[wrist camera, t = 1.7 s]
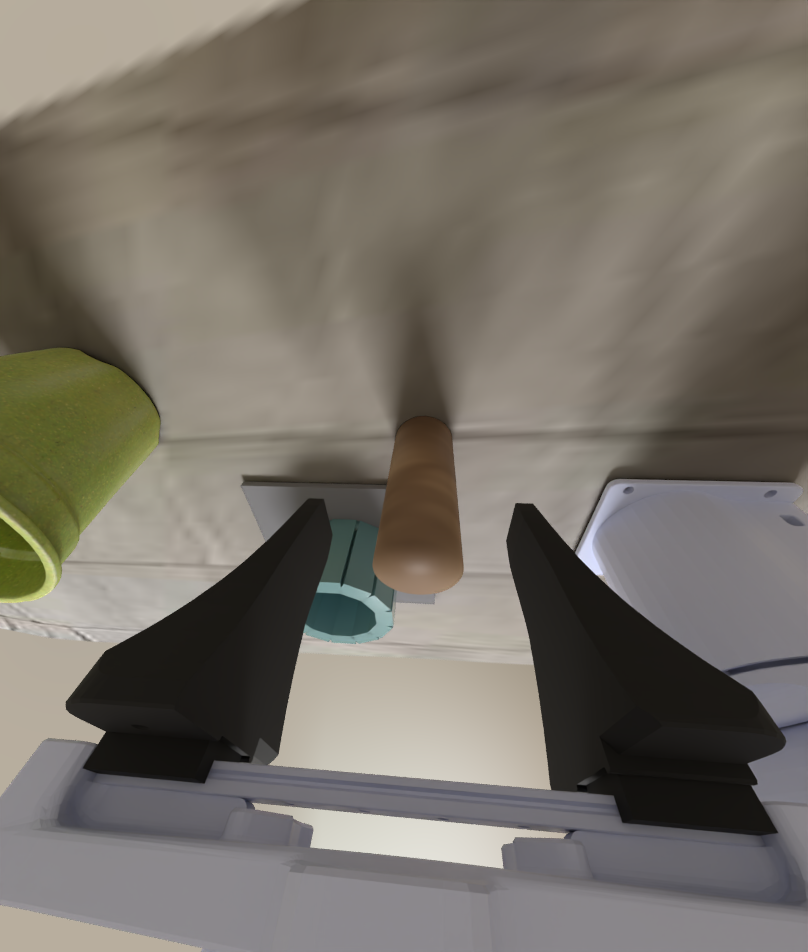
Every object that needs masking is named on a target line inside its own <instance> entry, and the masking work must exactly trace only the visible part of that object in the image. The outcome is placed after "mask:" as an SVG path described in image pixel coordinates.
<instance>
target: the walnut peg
mask: <svg viewBox="0 0 808 952" xmlns="http://www.w3.org/2000/svg"><path fill="white" fill-rule="evenodd" d="M372 564H373V571H374V573H375V575H376V576H377V578H378V579H379V580H380V581H381V582H383V583H384V584H385V585H387V586H388V587H390V588H392V589H395V590H397V591H400V592H404V593H408V594H416V595H426V594H434V593H439V592H442V591H445V590H447V589H449V588H451V587H452V586H454V585H455V584H456V583H457V582H458V581H459V580H460V579H461V577H462V575H463V569H464V567H463V556H462V544H461V533H460V522H459V511H458V499H457V488H456V477H455V466H454V454H453V443H452V435H451V432H450V430H449V429H448V427H447V426H446V425H445V424H444V423H443V422H441V421H440V420H438V419H436V418H433V417H428V416H419V417H414V418H412V419H409V420H408V421H406V422H405V423H403V424H402V425H401V426H400V428H399V429H398V431H397V434H396V438H395V444H394V449H393V454H392V460H391V465H390V471H389V476H388V482H387V487H386V492H385V498H384V503H383V509H382V514H381V520H380V525H379V530H378V536H377V541H376V547H375V552H374V558H373V563H372Z"/></svg>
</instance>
